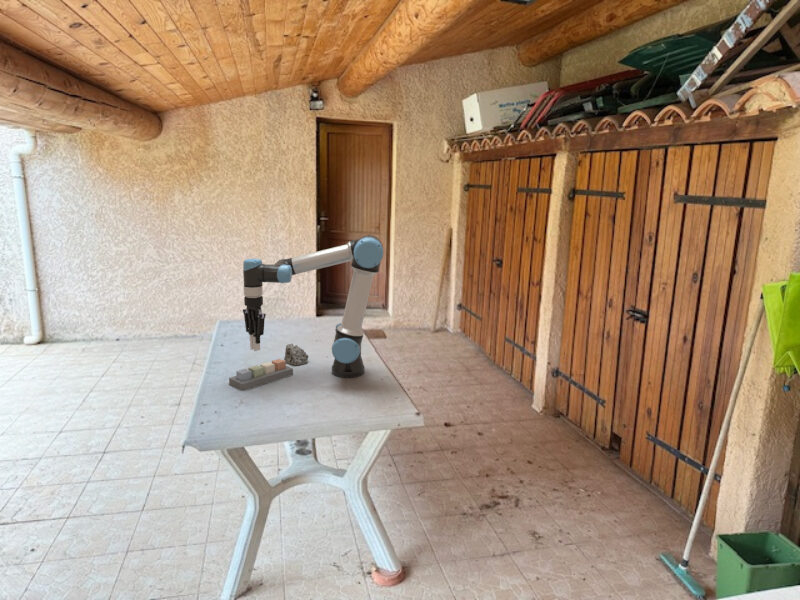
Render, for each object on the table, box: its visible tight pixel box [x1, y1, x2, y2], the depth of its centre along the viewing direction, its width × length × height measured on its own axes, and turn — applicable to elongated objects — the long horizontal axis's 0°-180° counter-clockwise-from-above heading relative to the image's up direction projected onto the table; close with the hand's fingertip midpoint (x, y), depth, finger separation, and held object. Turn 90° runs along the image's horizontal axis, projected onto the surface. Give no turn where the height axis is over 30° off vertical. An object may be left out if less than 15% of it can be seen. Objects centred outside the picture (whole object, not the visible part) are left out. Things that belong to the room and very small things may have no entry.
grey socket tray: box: [228, 365, 294, 392], centre depth 224 cm, size 10×26×3 cm, turn 140°
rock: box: [283, 343, 309, 366], centre depth 247 cm, size 13×10×10 cm
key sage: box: [248, 364, 263, 378], centre depth 221 cm, size 4×4×4 cm
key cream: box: [259, 361, 275, 374], centre depth 226 cm, size 4×4×4 cm
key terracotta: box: [271, 358, 287, 371], centre depth 230 cm, size 4×4×4 cm
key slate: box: [235, 368, 251, 382], centre depth 217 cm, size 4×4×4 cm
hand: (255, 349), depth 219 cm, fingers open, 2 cm apart
